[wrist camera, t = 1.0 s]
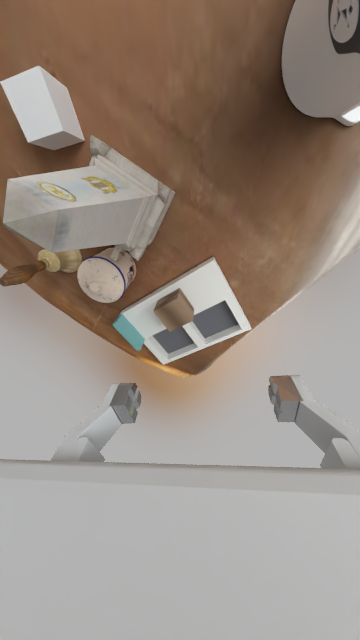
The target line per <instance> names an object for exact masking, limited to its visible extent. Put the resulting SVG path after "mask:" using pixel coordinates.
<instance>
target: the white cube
mask: <svg viewBox="0 0 360 640" xmlns="http://www.w3.org/2000/svg"><path fill="white" fill-rule="evenodd" d="M0 83H1V85H2V87H3V89H4V91H5V93H6V96H7V98H8V100H9V102H10V104H11V107H12V109H13V111H14V113H15V115H16V117H17V120H18V122H19V124H20V126H21V128H22V130H23V133H24V135H25V137H26V139H27V141H28V143H31V144H35V145H38V146H41V147H44V148H48V149H51V150H57V149H60V148H64V147H67V146H70V145H73V144H76V143H79V142H83V141H85V139H84V136H83V133H82V130H81V128H80V125H79V122H78V119H77V116H76V113H75V110H74V107H73V104H72V101H71V98H70V95H69V92H68V90H67V88H66V87H65V86H64V85H63V84H61V83H60V82H59V81H58V80H56V79H55V78H54V77H53V76H51V75H50V74H49V73H48V72H46V71H45V70H44V69H43V68H41V67H40V66H37V67H34V68H32V69H29V70H27V71H25V72H22V73H20V74H18V75H15V76H13V77H10V78H8V79H6V80H3V81H1V82H0Z"/></svg>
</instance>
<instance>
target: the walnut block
mask: <svg viewBox="0 0 360 640" xmlns="http://www.w3.org/2000/svg"><path fill="white" fill-rule="evenodd" d="M153 312H154V313H155V314H156V316H157V317H158V318H159V319H160V321H161V322H162V323H163V324H164V326H165V327H166V328H167V329H168V331H169V332H171V331H173V330H175V329H177V328H179V327H181V326H183V325H185V324H187V323H190V322H192V321H193V317H194V308H193V306H192V305H191V303H190V302H189V301H188V299H187V298H186V296H185V295H184V293H183V292H182V290H181V289H180V288H179V289H177V290H175V291H173V292H171V293H170V294H168V295H166V296H164V297H163V298H161V299H159V300H158V301H157V303H156V306H155V308H154V311H153Z"/></svg>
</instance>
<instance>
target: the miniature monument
mask: <svg viewBox="0 0 360 640" xmlns="http://www.w3.org/2000/svg"><path fill="white" fill-rule="evenodd" d="M90 150H91V153H92V155H93V156H92V159H91V161H90V164H89V167H82V168H76V169H69V170H63V171H57V172H50V173H44V174H38V175H31V176H25V177H19V178H12V179H8V182H7V191H6V200H5V209H4V218H3V224H4V226H5V227H6V228H7V229H9V230H10V231H12V232H14V233H16V234H18V235H20V236H22V237H23V238H25V239H27V240H29V241H31V242H33V243H35V244H36V245H38V246H40V247H42V248H44V249H46V250H48V251H49V252H51V253H53V252H61V251H69V250H77V249H85V248H93V247H101V246H109V245H117V246H119V247H121V248H123V249H125V250H127V251H129V252H130V255H131V256H132V257H133V258H135V259H136V260H139V259H140V258H141V257H142V255H143V253H144V251H145V249H146V247H147V245H149V244H150V243H151V242H152V241H153V240H154V238H155V236H156V234H157V231H158V229H159V227H160V225H161V223H162V221H163V219H164V217H165V214H166V212H167V210H168V208H169V206H170V204H171V202H172V200H173V197H174V195H175V192H174V191H172V190H171V189H170V188H168V187H167V186H166V185H164V184H163V183H161V182H160V181H158V180H157V179H155V178H154V177H153V176H151V175H150V174H148V173H147V172H145V171H144V170H143V169H141V168H140V167H138V166H137V165H135V164H134V163H133V162H131V161H130V160H128V159H127V158H125V157H124V156H123V155H121V154H120V153H118V152H117V151H115V150H114V149H113V148H111V147H110V146H108V145H107V144H105V143H104V142H103V141H101V140H99V139H98V138H96V137H94V136H92V135H91V138H90Z"/></svg>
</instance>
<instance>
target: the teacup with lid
mask: <svg viewBox="0 0 360 640" xmlns="http://www.w3.org/2000/svg"><path fill="white" fill-rule="evenodd" d="M135 276H136V265H135V262H134V260H133V259H132V257H131V256H130V255H129V254H128V253H127V252H126V250H125V249H123V248H121V247H119V246H117V245H116V246H115V248H108V249H106V250H104V251H102V252H100V253H99V254H97V255H95V256H93V257H89V258H87V259H85V260H84V261H83V262H82V263H81V264H80V266H79V268H78V272H77V278H78V282H79V285H80V287H81V288H82V290H83V291H84V292H85V293H86V294H87V295H88V296H89V297H90V298H92V299H94V300H96V301H98V302H102V303H111V302H114V301H117V300H118V299H120V298H121V297H122V296H123V294H124V292H125V290H126V289H127V287H128V286H129V285H130V284H131V282H132V281H133V280H134V278H135Z"/></svg>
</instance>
